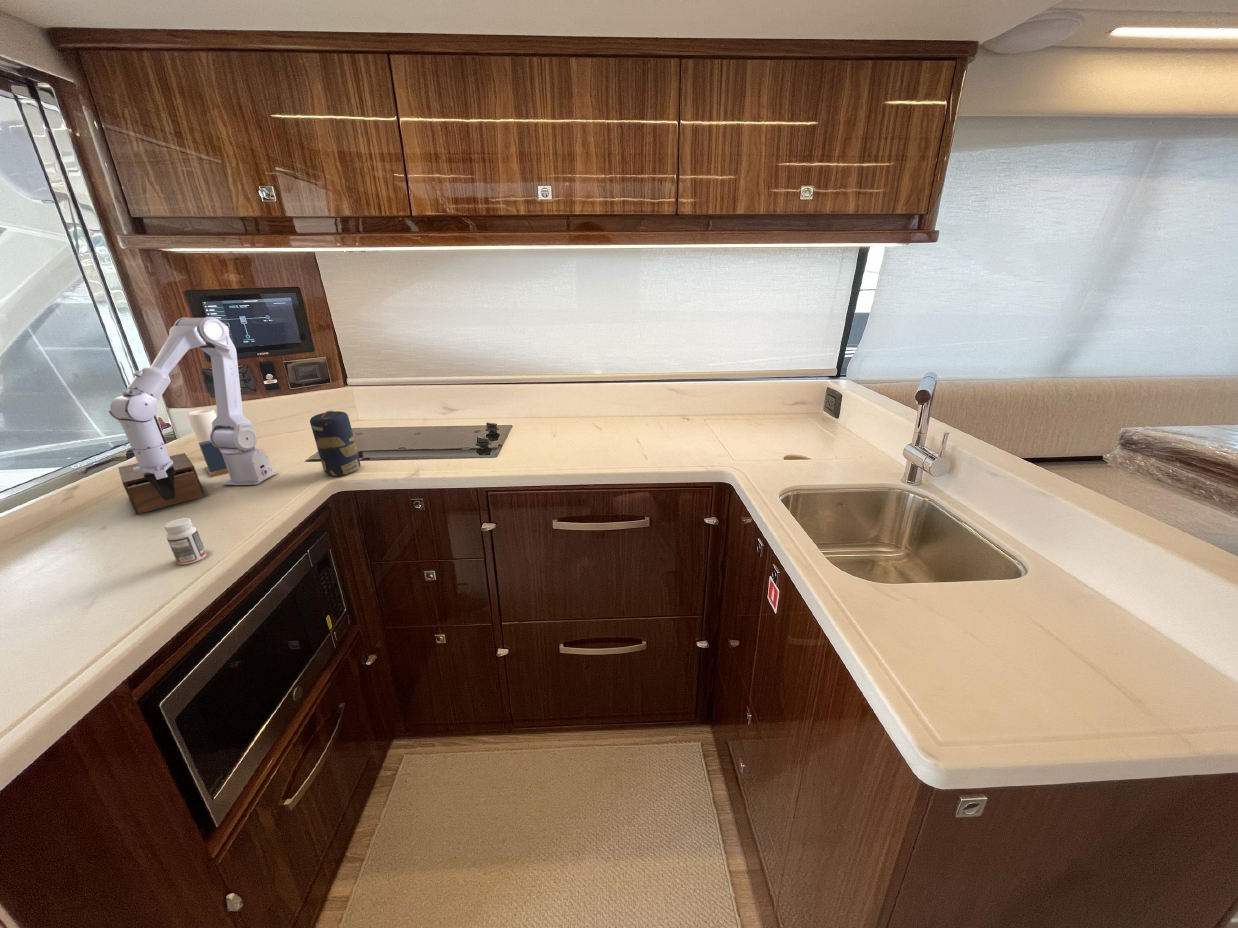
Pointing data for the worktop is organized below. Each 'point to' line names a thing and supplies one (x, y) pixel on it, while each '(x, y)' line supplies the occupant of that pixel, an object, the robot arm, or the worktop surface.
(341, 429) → the canister
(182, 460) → the wooden box
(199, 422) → the white tapered cylinder
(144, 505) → the drawer
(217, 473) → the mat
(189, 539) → the pill bottle
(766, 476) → the worktop surface
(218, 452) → the book
